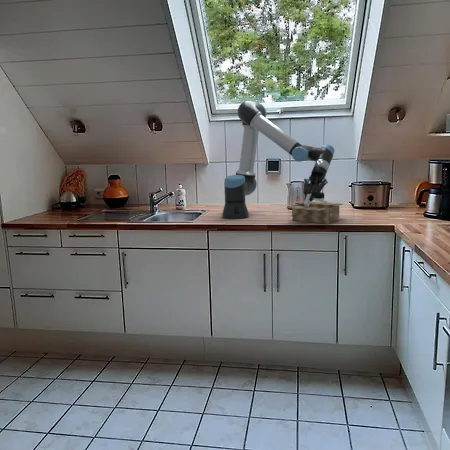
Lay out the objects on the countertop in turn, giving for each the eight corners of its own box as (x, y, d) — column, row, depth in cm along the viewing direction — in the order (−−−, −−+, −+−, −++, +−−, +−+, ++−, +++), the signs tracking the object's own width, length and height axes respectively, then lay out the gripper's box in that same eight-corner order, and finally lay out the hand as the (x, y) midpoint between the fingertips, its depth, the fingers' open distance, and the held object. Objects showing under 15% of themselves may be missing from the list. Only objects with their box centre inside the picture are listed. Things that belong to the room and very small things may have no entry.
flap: (293, 206, 239) (286, 208, 233) (293, 205, 238) (286, 207, 233) (325, 209, 227) (319, 211, 221) (325, 208, 227) (319, 210, 221)
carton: (291, 220, 242) (291, 205, 240) (308, 215, 256) (308, 201, 254) (329, 224, 228) (329, 208, 226) (345, 218, 242) (345, 203, 241)
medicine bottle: (327, 213, 261) (327, 192, 258) (316, 214, 258) (316, 193, 256) (321, 211, 267) (321, 191, 265) (310, 212, 265) (310, 192, 263)
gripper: (306, 165, 240) (291, 200, 230) (329, 165, 232) (315, 201, 222) (311, 174, 245) (297, 209, 235) (333, 174, 237) (320, 210, 227)
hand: (306, 205), depth 228 cm, fingers closed
